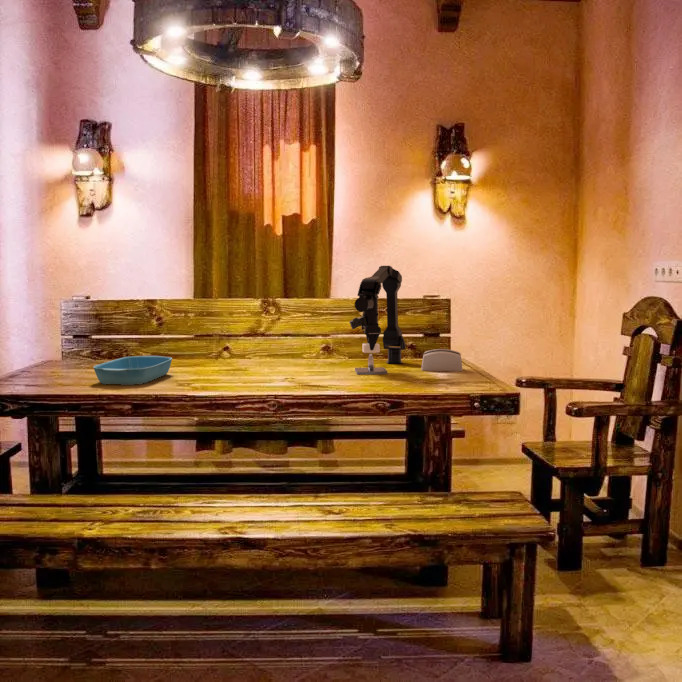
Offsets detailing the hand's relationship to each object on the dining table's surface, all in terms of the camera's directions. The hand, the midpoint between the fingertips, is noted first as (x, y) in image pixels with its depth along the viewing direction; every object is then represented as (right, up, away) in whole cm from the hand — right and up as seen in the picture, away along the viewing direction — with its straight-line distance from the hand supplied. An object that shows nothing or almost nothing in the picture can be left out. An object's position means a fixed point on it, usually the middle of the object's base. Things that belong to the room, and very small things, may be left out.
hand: (370, 349), depth 292 cm
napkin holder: (+29, -9, +5) cm, 31 cm away
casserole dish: (-91, -12, -12) cm, 93 cm away
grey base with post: (0, -9, +1) cm, 9 cm away
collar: (0, -1, 0) cm, 1 cm away
